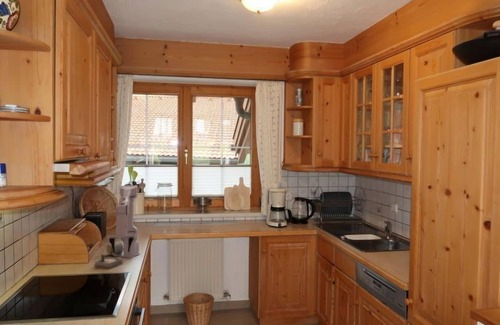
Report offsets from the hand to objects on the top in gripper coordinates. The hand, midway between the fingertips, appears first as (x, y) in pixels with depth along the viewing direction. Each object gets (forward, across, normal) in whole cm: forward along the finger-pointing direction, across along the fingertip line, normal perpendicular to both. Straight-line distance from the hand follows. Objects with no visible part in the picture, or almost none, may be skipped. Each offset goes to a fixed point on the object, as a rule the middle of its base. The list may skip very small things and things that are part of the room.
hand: (121, 252), depth 205 cm
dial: (+7, -8, +14) cm, 17 cm away
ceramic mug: (+6, -6, +35) cm, 36 cm away
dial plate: (+9, -8, +14) cm, 18 cm away
